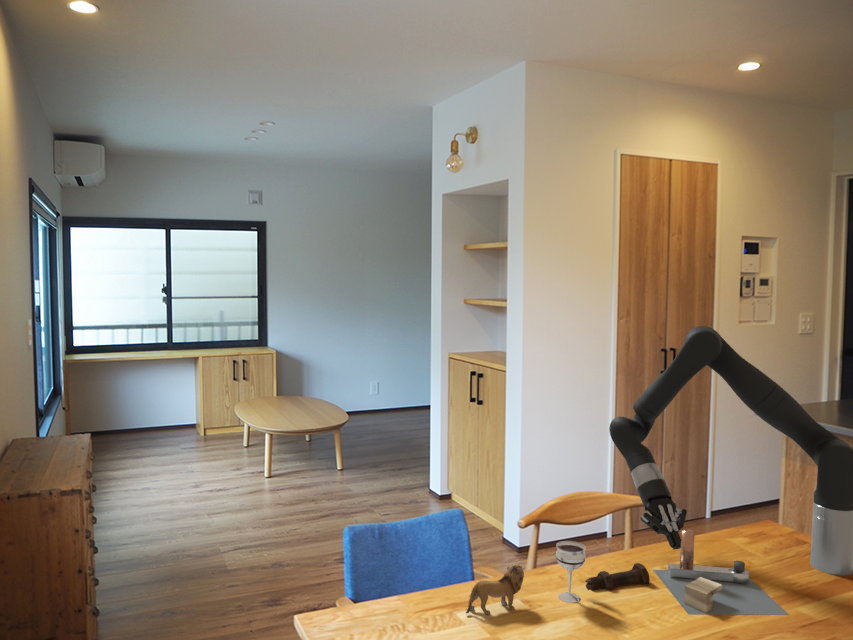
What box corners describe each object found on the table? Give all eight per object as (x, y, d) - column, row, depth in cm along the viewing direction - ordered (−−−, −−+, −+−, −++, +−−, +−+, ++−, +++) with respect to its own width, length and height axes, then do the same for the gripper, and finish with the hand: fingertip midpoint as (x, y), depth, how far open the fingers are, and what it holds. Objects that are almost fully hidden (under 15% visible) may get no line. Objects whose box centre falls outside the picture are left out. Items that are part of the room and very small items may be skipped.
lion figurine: (515, 596, 156) (515, 558, 155) (528, 606, 151) (529, 567, 151) (459, 610, 149) (460, 570, 149) (472, 621, 144) (473, 580, 144)
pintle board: (652, 574, 168) (653, 552, 168) (740, 574, 169) (741, 552, 168) (688, 619, 146) (689, 594, 146) (789, 619, 147) (790, 594, 146)
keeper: (699, 594, 155) (700, 576, 155) (721, 602, 152) (722, 584, 151) (684, 603, 151) (684, 585, 151) (705, 612, 147) (706, 594, 147)
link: (745, 576, 165) (747, 531, 164) (751, 584, 160) (753, 538, 159) (667, 570, 167) (668, 526, 167) (670, 577, 163) (672, 533, 162)
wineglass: (587, 594, 157) (588, 543, 157) (581, 607, 151) (582, 554, 150) (558, 588, 160) (559, 538, 159) (551, 600, 154) (552, 549, 153)
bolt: (586, 599, 159) (641, 589, 164) (596, 597, 155) (652, 587, 159) (579, 573, 161) (634, 564, 166) (589, 571, 157) (645, 561, 162)
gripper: (634, 479, 174) (661, 544, 163) (678, 475, 178) (708, 539, 167) (622, 493, 180) (648, 557, 169) (665, 489, 183) (693, 551, 172)
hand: (678, 548), depth 168 cm, fingers closed
